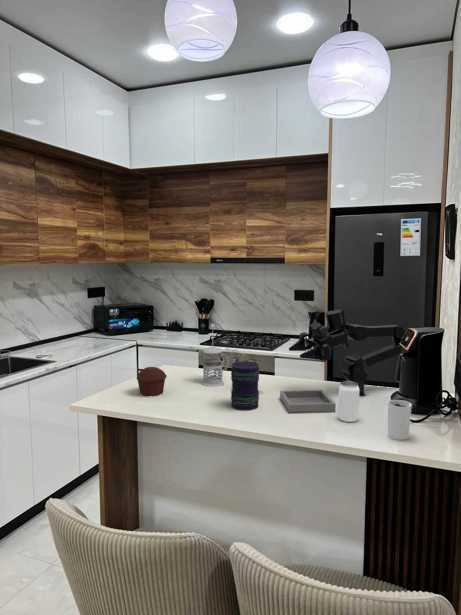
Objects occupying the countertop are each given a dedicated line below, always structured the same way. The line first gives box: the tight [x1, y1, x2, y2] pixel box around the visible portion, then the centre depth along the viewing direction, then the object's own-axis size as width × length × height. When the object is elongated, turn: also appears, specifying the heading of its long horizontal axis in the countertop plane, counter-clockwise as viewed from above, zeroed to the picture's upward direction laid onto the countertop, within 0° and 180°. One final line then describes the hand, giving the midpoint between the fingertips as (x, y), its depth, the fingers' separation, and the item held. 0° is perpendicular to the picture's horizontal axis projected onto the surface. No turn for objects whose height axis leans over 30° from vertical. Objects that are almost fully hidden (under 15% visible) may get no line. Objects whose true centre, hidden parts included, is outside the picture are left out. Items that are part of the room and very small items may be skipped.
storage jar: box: [230, 361, 260, 411], centre depth 163 cm, size 10×10×15 cm
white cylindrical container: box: [387, 399, 412, 441], centre depth 137 cm, size 7×7×10 cm
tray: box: [279, 389, 337, 414], centre depth 165 cm, size 16×16×3 cm
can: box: [337, 380, 360, 423], centre depth 151 cm, size 6×6×12 cm
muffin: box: [136, 366, 167, 397], centre depth 179 cm, size 12×11×10 cm
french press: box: [200, 323, 230, 388], centre depth 192 cm, size 10×12×25 cm
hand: (294, 352), depth 170 cm, fingers open, 9 cm apart
